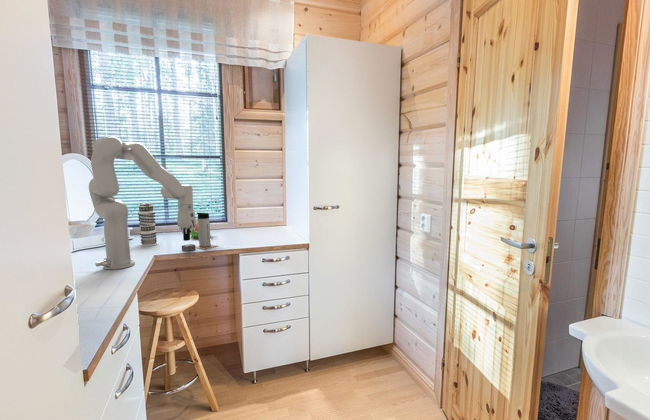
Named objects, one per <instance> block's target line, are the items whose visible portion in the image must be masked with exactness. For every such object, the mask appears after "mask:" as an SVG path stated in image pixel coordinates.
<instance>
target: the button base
mask: <svg viewBox="0 0 650 420" xmlns="http://www.w3.org/2000/svg"><path fill="white" fill-rule="evenodd" d="M191 244H192V246H185V245H186V244H183V245H181V251H182V252H186V253H189V252H193V251H196V248H195V247H196V244H193V243H191Z"/></svg>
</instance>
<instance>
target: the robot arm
mask: <svg viewBox="0 0 650 420" xmlns="http://www.w3.org/2000/svg"><path fill="white" fill-rule="evenodd" d="M92 148H93V152H92V155H91V158H90V165H91V167H90V168H91V172H92V175H93V177H92V178H91V179H90V181H89V183H88V191H89V196H90V198H91V202H92V206H93V208H94V211H95V213H96V214H97V215H98V216H99V217H100V218H103V219H104V222H103V234H104V242H105V243H104V246H105V254H106V257H105V258H104V259H103V260H102V261H97V262H95V264H94V265H95V267H96V268H98V267H101V266H102V267H103V269H104V270H108V271H109V270H111V271H112V270H121V269H122V270H123V269H125V268H130V267H132V266H134V265H135V264H136V262H135V260H133V259H131V252H130V251H131V249H130V239H129V236H130V235H129V227H128V221H129V220H128V218H129V209H128V206H127V204H126V203H125V202H124V201H122V200H120V199H117V198H116V199H115V196H117V195H118V194H119V192H120V184H119V180H118V178H117V173H116V170H115V159H119V160H123V161H124V160H125V161H132V162H134V164H135V165H136V166H137V167H138V168H139V169H140V171H142V173H143V174H144V175H145V176H146V177H148V178H149V179H151V180H152V181H156V182H158V183H159V184H160V185H161V186H162V187H161V189H160V195H161V196H162V197H163V198H165V199H168V200H177V205H178V207H177V208H178V209H177V226H178V227H179V230H180V231H181V232H182V235H183V241H184V242H187V241H190V240H191V235H190V233H191V231H192V230H194V227H196V219H197V218H196V214H195V212H196V211H195V210H194V197H193V195H194V194H193V190H194V189H193V186H192V184H182V183H181V182H180V181H179V180H178V179H177V178H176V176H175V175H173V174H172V173H171V172H170V171H168V170H167V169H166V168H165V167H163V166H162V165H161V164H160V162H158V161H157V160H156V158H155V157H154V156H153V154H151V152H150V151H149V149H147V147H146V146H145V145H144V144H142V143H140V142H134V141H133V142H123V141H121V139H120V138H118V137H116V136H104V137H100V138H97V139H95V140H94V142H93V144H92Z"/></svg>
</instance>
